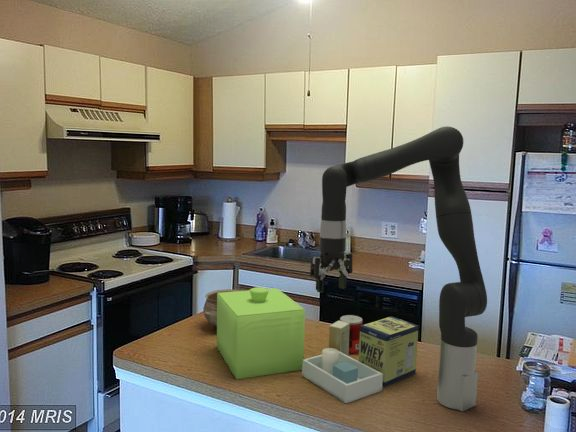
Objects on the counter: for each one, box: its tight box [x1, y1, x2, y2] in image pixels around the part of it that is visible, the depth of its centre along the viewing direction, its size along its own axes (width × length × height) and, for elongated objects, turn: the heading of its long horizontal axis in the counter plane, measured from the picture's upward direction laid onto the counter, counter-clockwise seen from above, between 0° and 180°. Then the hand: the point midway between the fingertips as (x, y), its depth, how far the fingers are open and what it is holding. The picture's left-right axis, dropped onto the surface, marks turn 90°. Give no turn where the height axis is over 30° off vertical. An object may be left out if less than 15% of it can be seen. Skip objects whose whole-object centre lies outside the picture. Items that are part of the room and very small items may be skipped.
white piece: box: [321, 347, 339, 375], centre depth 147 cm, size 5×5×7 cm
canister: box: [216, 286, 306, 381], centre depth 157 cm, size 25×21×23 cm
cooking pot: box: [202, 288, 243, 327], centre depth 186 cm, size 25×19×12 cm
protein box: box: [358, 315, 419, 388], centre depth 149 cm, size 10×16×16 cm
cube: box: [333, 362, 358, 384], centre depth 141 cm, size 5×5×5 cm
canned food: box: [339, 314, 364, 355], centre depth 167 cm, size 8×8×11 cm
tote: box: [301, 351, 383, 404], centre depth 143 cm, size 20×14×5 cm
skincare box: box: [328, 320, 350, 357], centre depth 158 cm, size 6×4×12 cm
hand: (331, 290), depth 144 cm, fingers open, 8 cm apart
